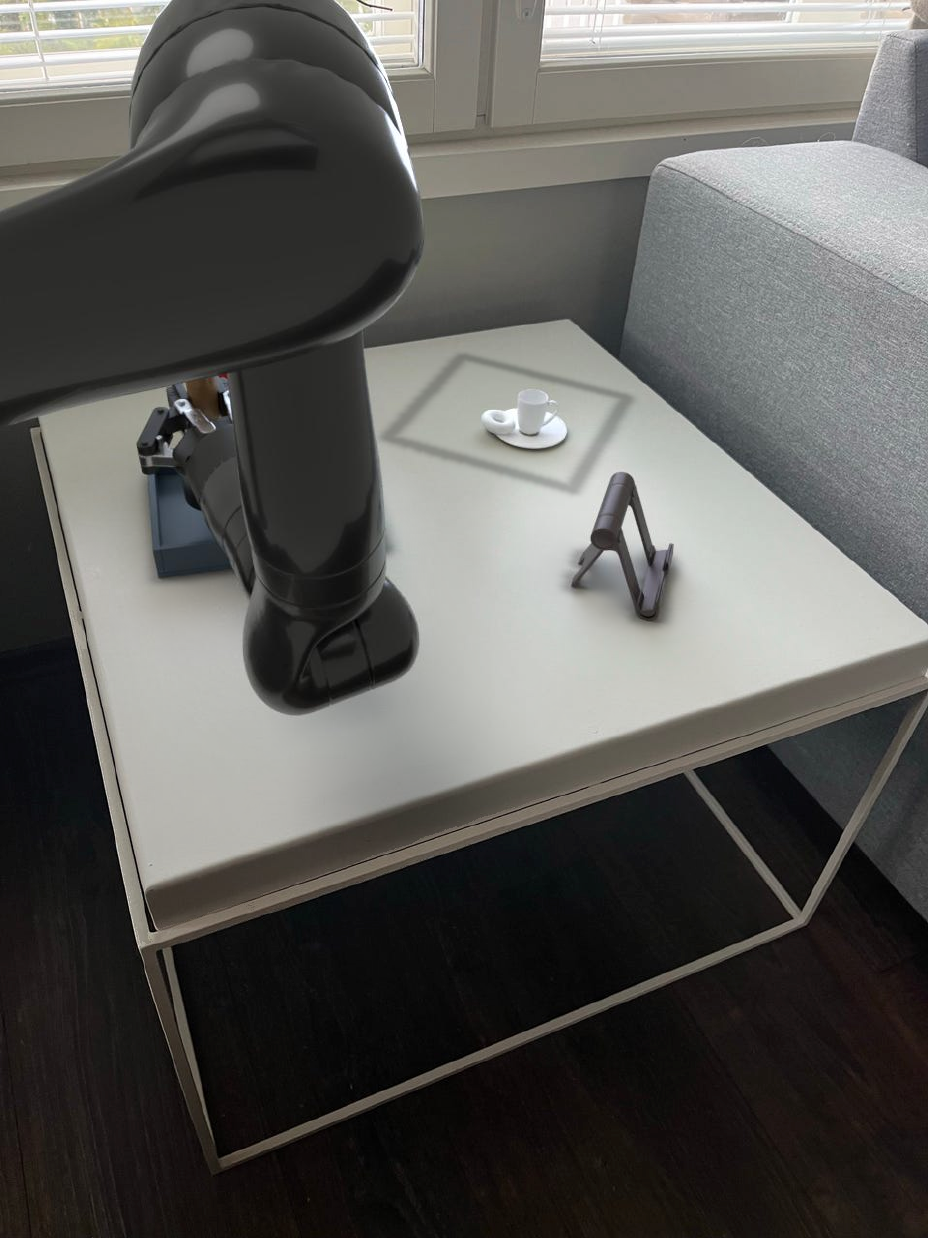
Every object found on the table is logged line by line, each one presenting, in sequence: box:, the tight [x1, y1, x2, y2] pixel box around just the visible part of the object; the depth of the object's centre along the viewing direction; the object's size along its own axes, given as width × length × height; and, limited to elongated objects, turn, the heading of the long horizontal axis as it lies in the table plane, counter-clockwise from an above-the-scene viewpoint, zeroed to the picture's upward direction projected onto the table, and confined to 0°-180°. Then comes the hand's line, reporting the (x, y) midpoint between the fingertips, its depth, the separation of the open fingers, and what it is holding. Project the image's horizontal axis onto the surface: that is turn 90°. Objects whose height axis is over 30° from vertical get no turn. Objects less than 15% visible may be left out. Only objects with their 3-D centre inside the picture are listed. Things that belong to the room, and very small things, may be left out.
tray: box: [147, 447, 233, 579], centre depth 88 cm, size 19×15×3 cm
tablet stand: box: [570, 471, 675, 622], centre depth 82 cm, size 9×8×8 cm
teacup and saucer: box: [480, 388, 568, 450], centre depth 101 cm, size 9×8×4 cm
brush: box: [181, 376, 221, 511], centre depth 80 cm, size 6×6×15 cm
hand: (195, 386), depth 81 cm, fingers closed on brush, 2 cm apart
